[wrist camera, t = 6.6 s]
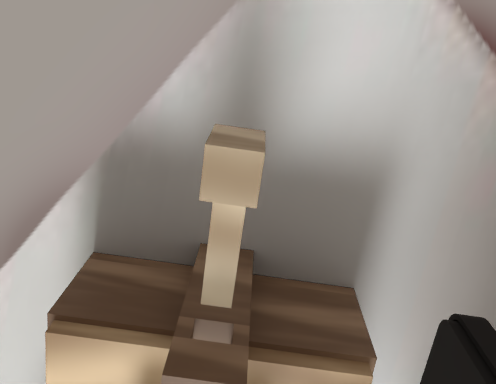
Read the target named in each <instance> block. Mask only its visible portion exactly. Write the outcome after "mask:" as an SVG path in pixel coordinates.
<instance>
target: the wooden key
mask: <svg viewBox="0 0 496 384" xmlns="http://www.w3.org/2000/svg"><path fill="white" fill-rule="evenodd" d="M264 158H265V131H261V130H254V129H247V128H240V127H233V126H226V125H219V124H215V125H214V127H213V129H212V131H211V133H210V135H209V137H208V139H207V141H206V143H205V150H204V159H203V168H202V177H201V186H200V196H199V201H206V202H213V204H212V213H211V221H210V229H209V238H208V246H207V254H206V263H205V271H204V280H203V288H202V296H201V304H203V305H211V306H218V307H225V308H231V306H232V300H233V293H234V286H235V279H236V272H237V265H238V259H239V252H240V245H241V238H242V231H243V224H244V217H245V211H246V207H249V208H256V209H257V203H258V197H259V190H260V184H261V177H262V171H263V164H264Z"/></svg>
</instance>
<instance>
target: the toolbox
mask: <svg viewBox="0 0 496 384" xmlns="http://www.w3.org/2000/svg"><path fill="white" fill-rule="evenodd" d="M207 246H208V244H202V243H201V244H200V247H199V250H198V254H197V257H196V261H195V264H194V266H189V265H181V264H174V263H167V262H160V261H152V260H145V259H138V258H131V257H124V256H116V255H109V254H102V253H95V252H93V254H92V255H91V256H90V258H89V259H88V260H87V261H86V263H85V264H84V265H83V267H82V268H81V269H80V271H79V272H78V273H77V275H76V276H75V277H74V279H73V280H72V281H71V283H70V284H69V285H68V287H67V288H66V289H65V291H64V292H63V293H62V295H61V296H60V297H59V299H58V300H57V301H56V303H55V304H54V305H53V307H52V308H51V309H50V311H49V312H48V313H47V315H48V328H49V326H50V325H51V324H52V322H53V321H54V320H58V321H66V322H73V323H80V324H88V325H95V326H102V327H110V328H117V329H124V330H132V331H139V332H146V333H154V334H161V335H168V336H173V339H172V342H171V346H170V349H169V353H168V356H167V359H166V363H165V366H164V370H163V373H162V379H161V384H247V372H248V352H249V347H256V348H264V349H271V350H278V351H286V352H293V353H300V354H308V355H315V356H322V357H330V358H337V359H344V360H352V361H359V362H366V363H369V365H370V368H371V371H372V374H373V371H374V367H375V363H376V360H377V357H376V354H375V351H374V348H373V345H372V342H371V339H370V336H369V333H368V330H367V327H366V324H365V321H364V318H363V315H362V312H361V309H360V306H359V303H358V300H357V297H356V294H355V291H354V288H347V287H340V286H333V285H326V284H319V283H311V282H304V281H297V280H290V279H282V278H275V277H268V276H261V275H254V274H252V273H253V253H254V251H252V250H245V249H240V252H239V259H238V265H237V272H236V279H235V286H234V293H233V300H232V306H231V308H225V307H218V306H211V305H203V304H201V296H202V288H203V280H204V271H205V263H206V254H207Z"/></svg>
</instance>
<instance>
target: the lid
mask: <svg viewBox="0 0 496 384" xmlns="http://www.w3.org/2000/svg"><path fill="white" fill-rule="evenodd" d="M172 339H173V336H168V335H161V334H154V333H146V332H139V331H132V330H124V329H117V328H110V327H102V326H95V325H88V324H80V323H73V322H66V321H58V320H54V321H53V322H52V324H51V325H50V326H49V328H48V329H47V331H46V332H45V341H46V384H161V379H162V373H163V370H164V366H165V363H166V359H167V356H168V353H169V349H170V346H171V342H172ZM372 379H373V375H372V371H371V368H370V365H369V363H366V362H359V361H352V360H344V359H337V358H330V357H322V356H315V355H308V354H300V353H293V352H286V351H278V350H271V349H264V348H256V347H249V352H248V372H247V384H371V383H372Z"/></svg>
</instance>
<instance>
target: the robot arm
mask: <svg viewBox="0 0 496 384" xmlns="http://www.w3.org/2000/svg"><path fill="white" fill-rule="evenodd" d="M420 384H496V331H495V330H494V328H493V327H492V326H491V324H490V323H489V322H488V321H487V320H486V319H485V318H482V317H475V316H468V315H461V314H453V315H451V317H450V318H449V320H442V321H441V323H440V324H439V327H438V330H437V333H436V336H435V339H434V342H433V345H432V348H431V351H430V355H429V358H428V361H427V364H426V367H425V370H424V373H423V376H422V379H421V382H420Z"/></svg>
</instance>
